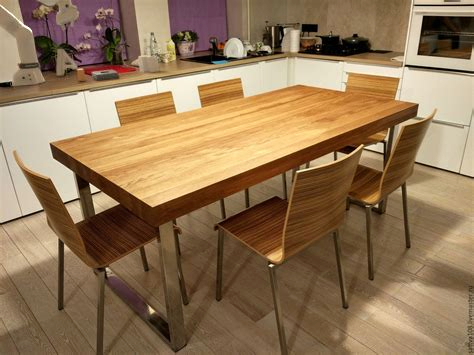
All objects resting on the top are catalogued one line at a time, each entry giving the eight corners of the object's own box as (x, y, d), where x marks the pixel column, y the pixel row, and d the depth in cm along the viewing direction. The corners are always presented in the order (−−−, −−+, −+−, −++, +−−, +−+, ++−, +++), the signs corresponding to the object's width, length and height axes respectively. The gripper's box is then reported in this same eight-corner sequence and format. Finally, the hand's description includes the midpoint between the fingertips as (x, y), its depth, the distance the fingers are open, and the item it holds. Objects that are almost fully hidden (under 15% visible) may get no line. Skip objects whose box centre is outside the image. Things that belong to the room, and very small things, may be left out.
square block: (78, 80, 289) (76, 69, 286) (80, 79, 293) (78, 68, 289) (84, 80, 289) (82, 69, 286) (85, 79, 293) (83, 68, 290)
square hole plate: (97, 80, 289) (96, 74, 287) (92, 77, 301) (91, 71, 300) (118, 77, 296) (118, 72, 294) (113, 74, 308) (112, 69, 307)
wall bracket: (76, 90, 336) (62, 75, 307) (71, 90, 336) (56, 75, 307) (77, 66, 340) (63, 48, 311) (72, 66, 340) (57, 49, 311)
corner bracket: (140, 71, 320) (138, 56, 315) (151, 69, 327) (150, 54, 322) (147, 72, 313) (145, 57, 308) (159, 70, 320) (157, 55, 315)
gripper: (52, 11, 286) (55, 30, 287) (70, 3, 275) (72, 23, 276) (60, 13, 291) (62, 32, 292) (78, 6, 281) (80, 25, 281)
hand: (67, 28), depth 284 cm, fingers open, 8 cm apart
